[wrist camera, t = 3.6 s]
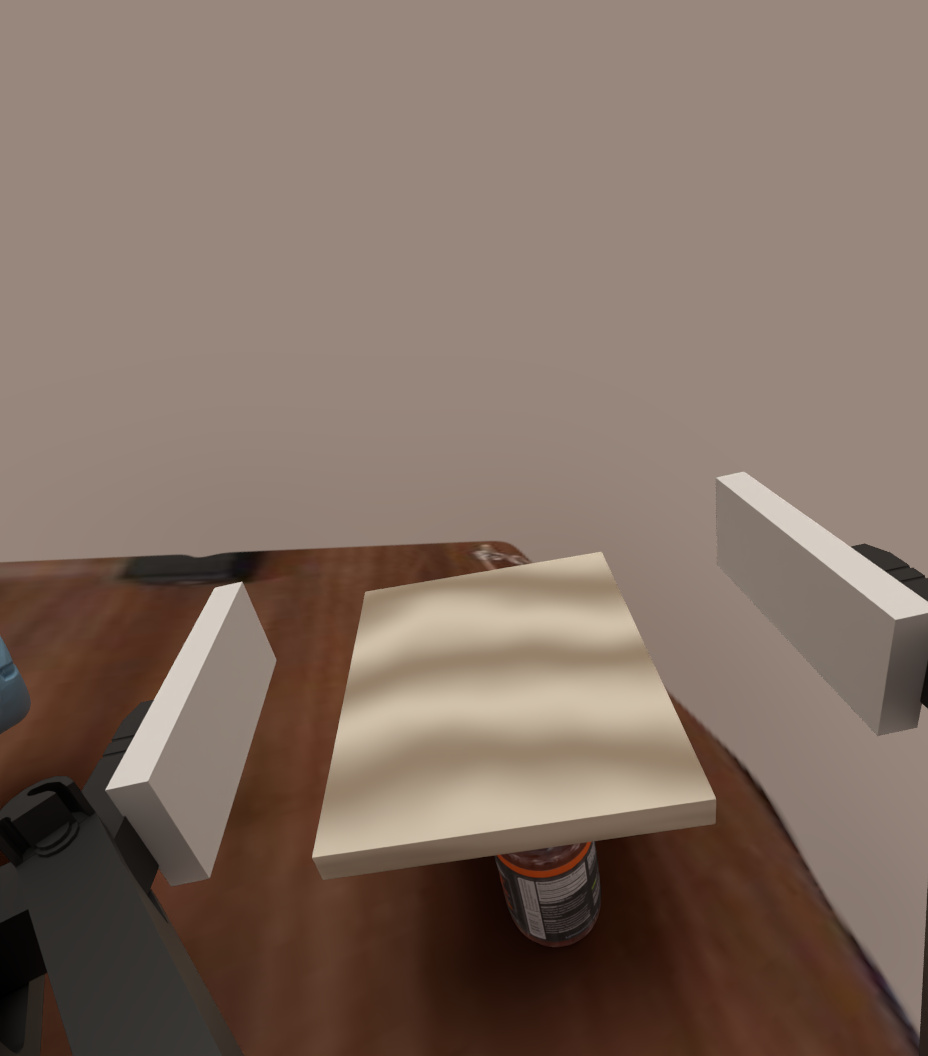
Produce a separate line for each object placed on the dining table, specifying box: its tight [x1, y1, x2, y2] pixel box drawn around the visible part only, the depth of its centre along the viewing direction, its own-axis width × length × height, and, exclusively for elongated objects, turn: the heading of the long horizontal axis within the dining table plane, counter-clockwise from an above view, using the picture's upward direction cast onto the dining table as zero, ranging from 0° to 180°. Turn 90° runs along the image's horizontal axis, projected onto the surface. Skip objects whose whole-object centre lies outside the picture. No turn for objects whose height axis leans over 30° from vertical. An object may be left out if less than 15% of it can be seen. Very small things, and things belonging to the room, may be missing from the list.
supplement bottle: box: [494, 841, 601, 947], centre depth 35 cm, size 6×6×11 cm
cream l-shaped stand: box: [312, 552, 716, 880], centre depth 36 cm, size 19×16×18 cm
